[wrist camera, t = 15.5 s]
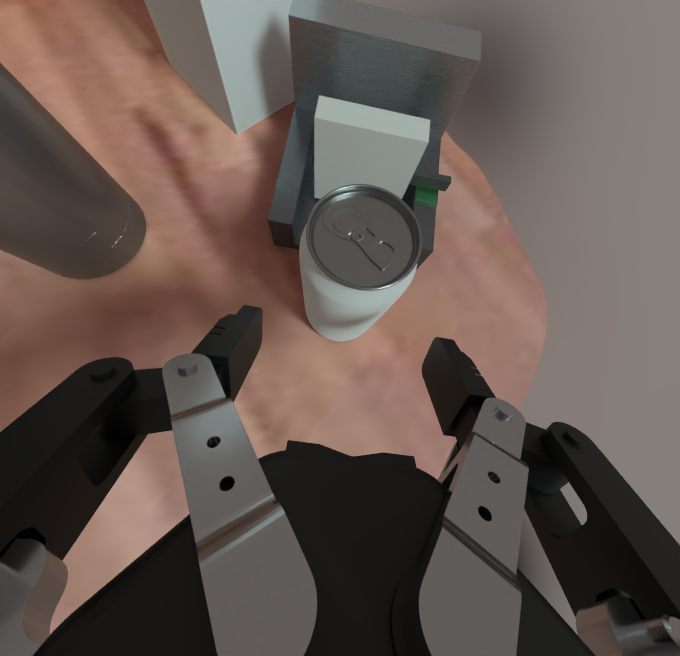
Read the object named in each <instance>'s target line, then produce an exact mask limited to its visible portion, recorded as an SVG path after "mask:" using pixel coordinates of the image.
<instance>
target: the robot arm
mask: <svg viewBox="0 0 680 656" xmlns="http://www.w3.org/2000/svg"><path fill="white" fill-rule="evenodd" d="M145 232H146V221H145V217H144V214H143V211H142V210H141V208H140V206H139V205H138V204H137V203H136V202H135V201H134V200H133V198H132V197H131V196H130V195H129V194H128V193H127V192H126V191H125V190H124V189H123V188H122V187H121V186H120V185H119V184H118V183H117V182H116V181H115V180H114V179H113V178H112V177H111V176H110V175H109V174H108V173H107V172H106V171H105V170H104V168H103V167H102V166H101V165H100V164H99V163H98V162H97V161H96V160H95V159H94V158H93V157H92V156H91V155H90V154H89V153H88V152H87V151H86V150H85V149H84V148H83V147H82V146H81V145H80V144H79V143H78V142H77V141H76V140H75V139H74V138H73V137H72V135H71V134H70V133H69V132H68V131H67V130H66V129H65V128H64V127H63V126H62V125H61V124H60V123H59V122H58V121H57V120H56V119H55V118H54V117H53V116H52V115H51V114H50V113H49V112H48V111H47V110H46V109H45V108H44V107H43V106H42V105H41V104H40V103H39V102H38V101H37V100H36V99H35V98H34V97H33V96H32V95H31V94H30V93H29V91H28V90H27V89H26V88H25V87H24V86H23V85H22V84H21V83H20V82H19V81H18V80H17V79H16V78H15V77H14V76H13V75H12V74H11V73H10V72H9V71H8V70H7V69H6V68H5V67H4V66H3V65H2V64H1V63H0V250H2V251H4V252H7V253H9V254H11V255H14V256H16V257H19V258H21V259H23V260H26V261H28V262H30V263H33V264H35V265H37V266H40V267H42V268H44V269H47V270H49V271H52V272H54V273H56V274H59V275H62V276H64V277H70V278H75V279H89V278H94V277H99V276H103V275H106V274H108V273H111V272H113V271H115V270H117V269H118V268H120V267H122V266H124V265H125V264H126V263H127V262H128V261H129V260H131V259H132V258H133V256H134V255H135V254H136V253H137V251H138V250H139V249H140V247H141V245H142V242H143V240H144V237H145ZM261 341H262V309H261V308H258V307H252V306H246V305H244V306H243V307H242V308H241V309H240V310H239V312H238V313H237V314H236V315H232V314H229V315H227V316H225V317H223V318H221V319H220V320H219V321H218V322H217V323H216V324H215V326H214V328H212V329H211V330H210V331H209V334H207V335H206V336H205V337H204V339H203V340H202V341H201V342H200V343H199V344H198V346H197V347H196V348H195V349H194V350H193V351H192V353H191V354H184V355H180V356H177V357H175V358H173V359H171V360H170V361H168V362H167V363H166V364H165V365H164V367H163V368H155V369H142V370H134V368H133V365H132V363H131V362H130V361H129V360H127V359H124V358H118V357H111V358H104V359H99V360H96V361H93V362H90V363H88V364H86V365H84V366H82V367H81V368H79V369H78V370H76V371H75V372H74V373H73V374H72V375H70V376H69V377H68V378H67V379H65V380H64V381H63V382H62V383H60V384H59V385H58V386H57V387H55V388H54V389H53V390H52V391H51V392H49V393H48V394H47V395H46V396H44V397H43V398H42V399H41V400H39V401H38V402H37V403H36V404H35V405H33V406H32V407H31V408H30V409H28V410H27V411H26V412H25V413H23V414H22V415H21V416H20V417H18V418H17V419H16V420H15V421H14V422H12V423H11V424H10V425H9V426H7V427H6V428H5V429H4V430H2V431H1V432H0V656H680V545H679V544H678V543H677V541H675V539H674V538H673V537H672V535H671V534H670V533H669V532H668V531H667V530H666V528H665V527H664V526H663V525H662V524H661V522H660V521H659V520H658V519H657V518H656V516H655V515H654V514H653V513H652V512H651V511H650V509H649V508H648V507H647V506H646V505H645V503H644V502H643V501H642V500H641V499H640V497H639V496H638V495H637V494H636V493H635V491H634V490H633V489H632V488H631V487H630V485H629V484H628V483H627V482H626V481H625V480H624V478H623V477H622V476H621V475H620V474H619V472H618V471H617V470H616V469H615V468H614V467H613V465H612V464H611V463H610V462H609V460H608V459H607V458H606V457H605V456H604V454H603V453H602V452H601V451H600V450H599V449H598V448H597V446H596V445H595V444H594V443H593V442H592V440H591V439H589V438H588V437H587V436H586V435H585V434H583V433H582V432H581V431H579V430H578V429H576V428H574V427H572V426H570V425H568V424H565V423H562V422H554V423H552V424H551V425H550V426H549V427H548V428H547V429H546V430H545V429H542V428H540V427H537V426H535V425H532V424H529V423H527V422H525V419H524V417H523V416H522V414H521V413H520V412H519V411H518V410H517V409H516V408H515V407H514V406H512V405H511V404H509V403H507V402H505V401H503V400H501V399H498V398H496V397H495V395H494V394H493V392H492V391H491V389H490V388H489V386H488V385H487V383H486V381H485V380H484V378H483V377H482V376H481V374H480V372H479V371H478V370H477V367H476V366H475V364H474V363H473V361H472V360H471V359H470V358H469V357H468V356H467V355H466V354H464V353H463V352H461V351H460V349H459V348H458V346H457V344H456V343H455V341H454V340H452V339H446V338H440V337H436V338H435V339H434V340H433V342H432V344H431V346H430V348H429V351H428V353H427V355H426V357H425V359H424V362H423V365H422V376H423V379H424V381H425V384H426V387H427V390H428V393H429V395H430V398H431V401H432V404H433V407H434V409H435V412H436V415H437V418H438V421H439V423H440V426H441V429H442V432H443V435H447V436H454V437H456V439H457V441H456V443H455V444H454V446H453V448H452V450H451V452H450V455H449V457H448V459H447V461H446V463H445V465H444V468H443V470H442V472H441V474H440V476H439V478H438V480H437V479H435V478H434V477H432V476H431V475H429V474H428V473H426V472H424V471H422V470H420V469H418V468H416V463H415V459H414V456H406V455H398V454H391V453H377V454H370V455H362V456H354V457H353V456H349V455H346V454H343V453H341V452H338V451H336V450H333V449H331V448H328V447H325V446H323V445H320V444H313V443H306V442H298V441H290V440H288V442H287V447H286V450H285V451H279V452H275V453H271V454H268V455H266V456H263V457H261V458H259V459H257V456H256V454H255V452H254V449H253V447H252V445H251V443H250V440H249V438H248V436H247V433H246V431H245V429H244V427H243V424H242V422H241V420H240V417H239V415H238V413H237V410H236V408H235V406H234V404H233V402H234V400H235V398H236V396H237V394H238V392H239V390H240V388H241V386H242V384H243V382H244V380H245V378H246V376H247V374H248V372H249V370H250V368H251V366H252V364H253V362H254V360H255V358H256V355H257V353H258V351H259V349H260V346H261ZM170 430H173V434H174V439H175V443H176V448H177V453H178V458H179V463H180V468H181V473H182V478H183V483H184V488H185V493H186V497H187V502H188V507H189V512H190V514H189V515H188V516H187V517H186V518H184V519H183V520H182V521H181V522H180V523H178V524H177V525H176V526H175V527H174V528H172V529H171V530H170V531H169V532H168V533H167V534H165V535H164V536H163V537H162V538H161V539H159V540H158V541H157V542H156V543H155V544H154V545H152V546H151V547H150V548H149V549H148V550H146V551H145V552H144V553H143V554H142V555H140V556H139V557H138V558H137V559H136V560H135V561H133V562H132V563H131V564H130V565H129V566H127V567H126V568H125V569H124V570H123V571H122V572H120V573H119V574H118V575H117V576H116V577H114V578H113V579H112V580H111V581H110V582H109V583H107V584H106V585H105V586H104V587H103V588H101V589H100V590H99V591H98V592H97V593H95V594H94V595H93V596H92V597H91V598H90V599H88V600H87V601H86V602H85V603H84V604H82V605H81V606H80V607H79V608H78V609H76V610H75V611H74V612H73V613H72V614H71V615H70V616H68V617H67V618H66V619H65V620H64V621H63V622H62V623H61V624H60V625H59V626H58V627H57V628H56V629H55V630H54V631H53V632H52V633H51V635H50V624H51V620H52V616H53V614H54V611H55V608H56V606H57V604H58V602H59V600H60V598H61V596H62V594H63V592H64V590H65V587H66V584H67V579H68V570H67V567H66V565H65V563H64V562H63V561H62V560H63V559H64V557H65V556H66V554H67V553H68V551H69V550H70V548H71V547H72V546H73V544H74V543H75V541H76V540H77V538H78V537H79V535H80V534H81V532H82V531H83V529H84V528H85V526H86V525H87V523H88V522H89V520H90V519H91V517H92V516H93V515H94V513H95V512H96V510H97V509H98V507H99V506H100V504H101V503H102V501H103V500H104V498H105V497H106V495H107V494H108V492H109V491H110V489H111V488H112V486H113V485H114V483H115V482H116V481H117V479H118V478H119V476H120V475H121V473H122V472H123V470H124V469H125V467H126V466H127V464H128V463H129V461H130V460H131V458H132V457H133V455H134V454H135V452H136V451H137V450H138V448H139V447H140V445H141V444H142V442H143V441H144V439H145V438H146V436H147V435H148V434H150V433H157V432H163V431H170ZM568 482H570V484H571V486H572V487H573V489H574V490H575V492H576V493H577V495H578V496H579V498H580V500H581V501H582V502H583V504H584V506H585V508H586V511H587V521H586V523H585V524H584V525H581V524H580V522H579V520H578V519H577V517H576V515H575V514H574V512H573V510H572V509H571V507H570V506H569V504H568V502H567V501H566V499H565V497H564V496H563V494H562V492H561V491H560V489H561V487H563V486H564V485H566V484H567V483H568ZM524 509H525V511H526V513H527V515H528V517H529V519H530V521H531V523H532V526H533V528H534V530H535V532H536V534H537V536H538V538H539V540H540V543H541V545H542V547H543V549H544V551H545V553H546V555H547V557H548V560H549V562H550V564H551V566H552V568H553V570H554V572H555V575H556V577H557V579H558V581H559V583H560V585H561V587H562V589H563V591H564V594H565V596H566V598H567V600H568V602H569V604H570V606H571V609H572V611H573V613H574V615H575V617H576V628H577V632H578V635H577V634H576V633H575V632H574V631H573V629H572V628H571V627H570V626H569V625H568V624H567V623H566V622H565V621H564V619H563V618H562V617H561V616H560V615H559V614H558V613H557V612H556V610H555V609H554V608H553V607H552V606H551V605H550V604H549V603H548V601H547V600H546V599H545V598H544V597H543V596H542V595H541V593H540V592H539V591H538V590H537V589H536V588H535V587H534V586H533V584H532V583H531V582H530V581H529V580H528V579H527V578H526V577H525V576H524V574H523V573H522V572H521V571H520V570H519V569H518V568H517V562H518V554H519V546H520V537H521V529H522V521H523V513H524Z"/></svg>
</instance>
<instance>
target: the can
mask: <svg viewBox="0 0 680 656" xmlns="http://www.w3.org/2000/svg"><path fill="white" fill-rule="evenodd" d="M421 250H422V232H421V228H420V225H419V222H418V220H417V218H416V216H415V214H414V213H413V211H412V210H411V209H410V207H409V206H408V205H407V204H406V203H405V202H404V201H403V200H402V199H400V198H399V197H398V196H396V195H395V194H393V193H392V192H390V191H388V190H386V189H383V188H380V187H377V186H373V185H367V184H351V185H346V186H342V187H339V188H336V189H334V190H332V191H330V192H329V193H327V194H326V195H324V196H323V197H322V198H321V199H320V200H319V201H318V202H317V203H316V204H315V206H314V207H313V209H312V211H311V213H310V215H309V218H308V221H307V224H306V226H305V228H304V230H303V233H302V236H301V240H300V247H299V258H300V270H301V279H302V288H303V296H304V304H305V311H306V315H307V318H308V321H309V323H310V324H311V326H312V327H313V328H314V330H315V331H316V332H318V333H319V334H320V335H322V336H323V337H325V338H327V339H330V340H334V341H349V340H352V339H355V338H357V337H359V336H361V335H362V334H363V333H365V332H366V331H367V330H368V329H369V328H370V327H371V326H372V325H373V324H374V323H375V322H376V321H377V320H378V319H379V318H380V317H381V316H382V315H383V314H384V313H385V312H386V311H387V310H388V309H389V308H390V307H391V306H392V304H393V303H394V302H395V301H396V300H397V299H398V298H399V297H400V296H401V295H402V294H403V293H404V291H405V290H406V289H407V288H408V286H409V284H410V283H411V281H412V279H413V277H414V275H415V272H416V268H417V262H418V260H419V258H420V255H421Z"/></svg>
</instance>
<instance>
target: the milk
mask: <svg viewBox="0 0 680 656" xmlns="http://www.w3.org/2000/svg"><path fill="white" fill-rule="evenodd" d="M144 2H145V4H146V7H147V9H148V12H149V14H150V17H151V19H152V22H153V24H154V27H155V29H156V32H157V34H158V37H159V39H160V42H161V44H162V47H163V49H164V52H165V54H166V57H167V59H168V61H169V64H170V66H171V67H172V68H173V69H174V70H175V71H176V72H177V73H178V74H179V75H180V76H181V77H182V78H183V79H184V80H185V81H186V82H187V83H188V84H189V85H190V86H191V87H192V88H193V89H194V90H195V91H196V93H197V94H198V95H199V96H200V97H201V98H202V99H203V100H204V101H205V102H206V103H207V104H208V105H209V106H210V107H211V108H212V109H213V110H214V111H215V112H216V113H217V114H218V115H219V116H220V117H221V118H222V119H223V120H224V121H225V122H226V124H227V125H228V126H229V127H230V128H231V129H232V130H233V131H234V132H235V133H236V134H237V135H238V134H240V133H241V132H243V131H245V130H246V129H248V128H250V127H251V126H253V125H255V124H256V123H258V122H260V121H261V120H263V119H265V118H267V117H268V116H270V115H272V114H273V113H275V112H277V111H278V110H280V109H282V108H283V107H285V106H287V105H288V104H290V103H292V102H294V89H293V75H292V61H291V46H290V32H289V18H288V14H289V11H290V7H291V3H292V0H144Z"/></svg>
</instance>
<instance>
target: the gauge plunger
mask: <svg viewBox="0 0 680 656" xmlns="http://www.w3.org/2000/svg"><path fill="white" fill-rule="evenodd" d="M429 131H430V120H428V119H424V118H420V117H415V116H411V115H406V114H402V113H397V112H393V111H388V110H384V109H379V108H375V107H370V106H366V105H361V104H357V103H352V102H348V101H343V100H339V99H334V98H330V97H325V96H321V95H319V98H318V103H317V108H316V112H315V117H314V198H318V199H321V198H322V197H323V196H324V195H326V194H327V193H329V192H330V191H332V190H334V189H336V188H339V187H342V186H346V185H351V184H367V185H373V186H377V187H380V188H383V189H386V190H388V191H390V192H392V193H393V194H395V195H396V196H398V197H399V198H400V199H402V197H403V195H404V193H405V191H406V189H407V187H408V185H409V184H411V185H416V186H421V187H426V188H431V189H436V190H440V191H446V189H447V188H448V186H449V185H450V183H451V177H450V176H445V175H440V174H435V173H431V172H426V171H421V170H416V168H417V166H418V164H419V162H420V159H421V157H422V155H423V153H424V151H425V149H426V147H427V145H428V142H429Z"/></svg>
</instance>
